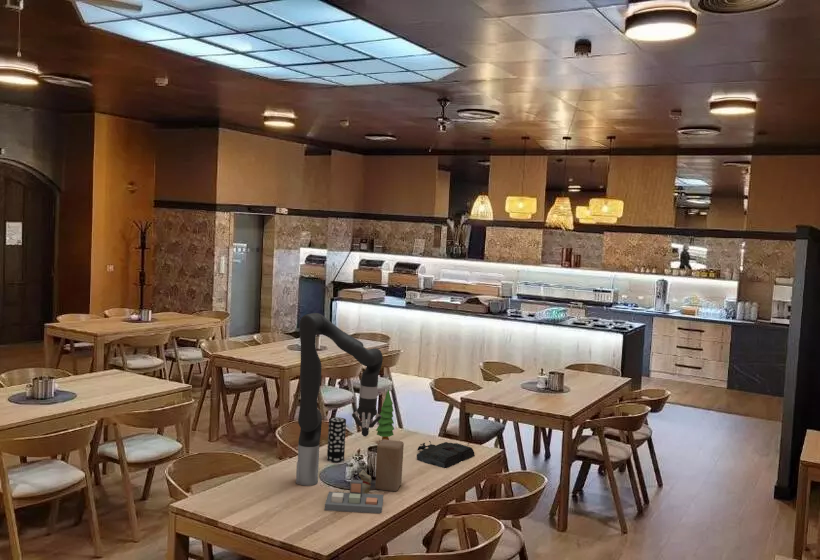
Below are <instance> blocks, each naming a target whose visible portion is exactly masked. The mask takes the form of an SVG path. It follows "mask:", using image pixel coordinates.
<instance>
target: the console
mask: <svg viewBox="0 0 820 560" xmlns="http://www.w3.org/2000/svg"><path fill="white" fill-rule="evenodd" d="M362 486H363V480H361V479H350V482H349V492H344V491H343V492H342V491H328V493H327V497H326V500H325V502H324V511H330V512H331V511H332V512H345V513H346V512H349V513H365V514H380V513H382V514H383V506H384V494H381V493H380V494H379V493H377V494H376V493H367V494H363V493H362ZM333 492H334V493H344V495H343V503H336V502H331V500H332V494H333ZM350 493H351V494H361V495H360V504H353V503H349V495H350ZM367 497H368V498H377V505H371V504H366V499H367Z"/></svg>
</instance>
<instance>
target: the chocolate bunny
mask: <svg viewBox="0 0 820 560" xmlns="http://www.w3.org/2000/svg"><path fill="white" fill-rule="evenodd" d="M358 476H359V477H360V480H363V486H362V493H363V494H370V489H371V486H372V484H371V483H372V476H371V475H369V474H368V473H367V472H366V471H365V470H364V469H362V470H361V471H360V472H359V473H358Z"/></svg>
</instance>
